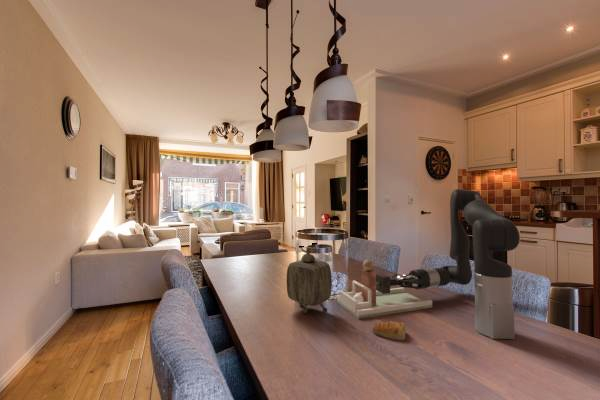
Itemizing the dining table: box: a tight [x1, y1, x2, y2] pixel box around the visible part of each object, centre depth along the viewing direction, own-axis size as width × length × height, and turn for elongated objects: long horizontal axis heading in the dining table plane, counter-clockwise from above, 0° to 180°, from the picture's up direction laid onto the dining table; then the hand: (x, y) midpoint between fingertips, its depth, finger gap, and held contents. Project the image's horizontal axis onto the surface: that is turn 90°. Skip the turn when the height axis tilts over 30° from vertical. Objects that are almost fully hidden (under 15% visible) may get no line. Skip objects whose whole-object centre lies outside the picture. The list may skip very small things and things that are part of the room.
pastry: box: [372, 320, 407, 341], centre depth 85 cm, size 9×7×4 cm
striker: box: [361, 259, 391, 305], centre depth 107 cm, size 10×5×16 cm, turn 107°
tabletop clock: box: [286, 244, 333, 314], centre depth 103 cm, size 14×9×25 cm, turn 51°
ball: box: [353, 294, 364, 303], centre depth 105 cm, size 4×4×4 cm
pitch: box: [336, 287, 433, 320], centre depth 108 cm, size 30×17×2 cm, turn 107°
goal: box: [338, 280, 372, 313], centre depth 105 cm, size 7×13×8 cm, turn 17°
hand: (386, 282), depth 109 cm, fingers closed
